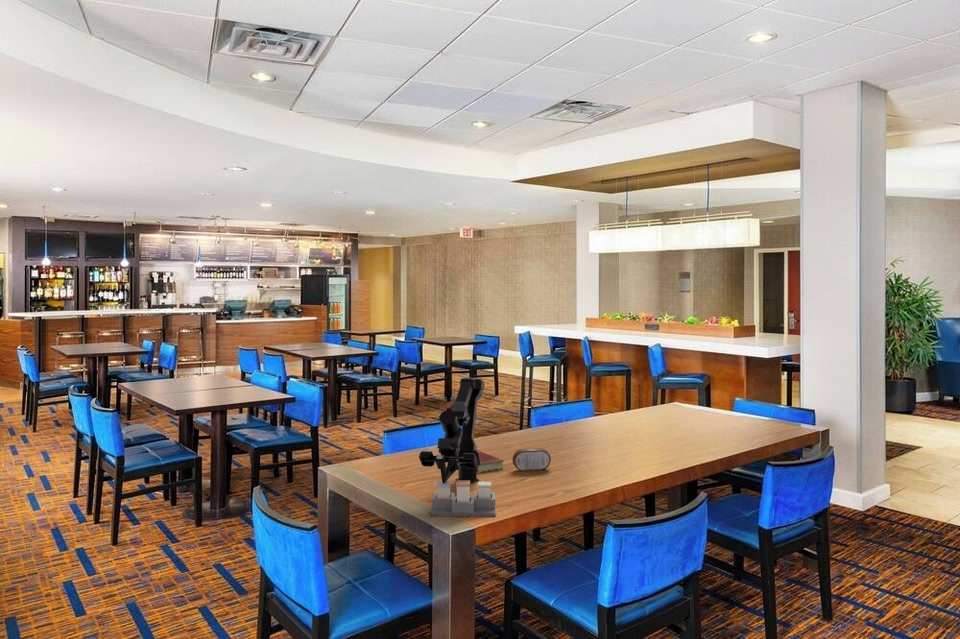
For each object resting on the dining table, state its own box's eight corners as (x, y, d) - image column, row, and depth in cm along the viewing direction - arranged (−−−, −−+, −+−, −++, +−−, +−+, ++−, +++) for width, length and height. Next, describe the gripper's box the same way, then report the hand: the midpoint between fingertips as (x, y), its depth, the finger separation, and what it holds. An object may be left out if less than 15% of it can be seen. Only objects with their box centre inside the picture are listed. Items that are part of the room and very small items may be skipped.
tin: (549, 468, 260) (549, 447, 259) (551, 470, 257) (551, 448, 256) (512, 470, 257) (512, 448, 257) (514, 472, 254) (514, 450, 254)
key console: (433, 504, 215) (433, 492, 215) (496, 504, 214) (495, 492, 214) (429, 515, 204) (429, 503, 204) (495, 516, 203) (495, 503, 203)
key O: (478, 503, 213) (478, 481, 213) (491, 503, 213) (491, 481, 213) (477, 507, 209) (477, 485, 209) (490, 507, 209) (490, 485, 209)
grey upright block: (437, 502, 214) (437, 481, 213) (450, 502, 213) (450, 481, 213) (436, 507, 209) (436, 485, 209) (449, 507, 209) (449, 485, 209)
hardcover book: (477, 474, 253) (477, 463, 253) (452, 462, 272) (452, 452, 271) (504, 469, 259) (504, 459, 259) (478, 458, 278) (478, 448, 277)
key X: (457, 502, 209) (457, 480, 209) (470, 502, 209) (470, 480, 209) (456, 506, 205) (456, 484, 205) (469, 506, 205) (469, 484, 205)
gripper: (420, 426, 218) (410, 468, 207) (475, 428, 214) (467, 471, 203) (427, 445, 226) (417, 485, 215) (480, 447, 222) (473, 489, 211)
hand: (443, 482), depth 211 cm, fingers closed, pressing on grey upright block
